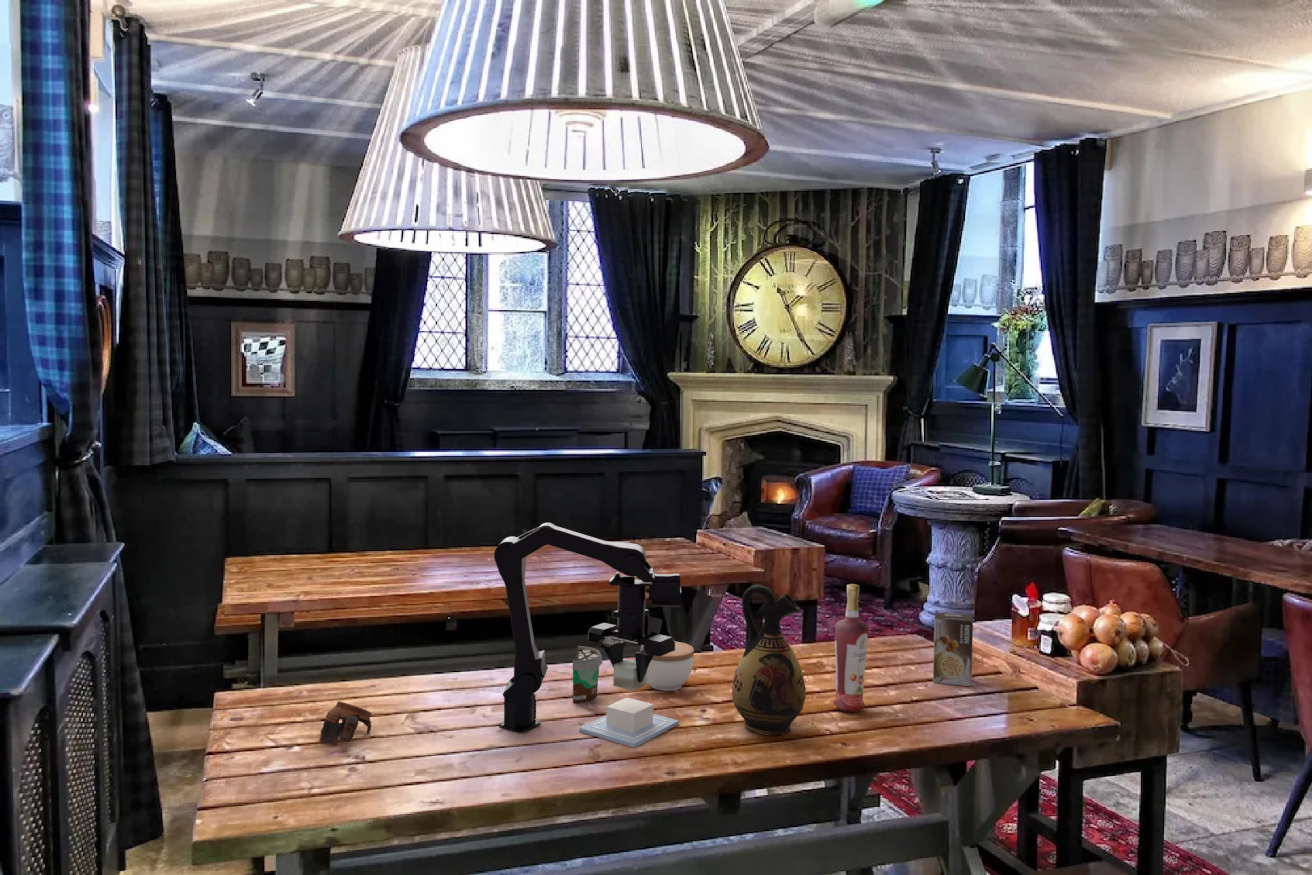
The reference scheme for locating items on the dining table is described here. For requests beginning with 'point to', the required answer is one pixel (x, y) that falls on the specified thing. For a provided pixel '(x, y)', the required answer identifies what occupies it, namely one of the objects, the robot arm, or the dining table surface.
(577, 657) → the food container
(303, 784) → the dining table surface
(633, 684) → the sage block
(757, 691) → the ceramic jug
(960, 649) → the coffee box
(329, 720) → the brown bent piece
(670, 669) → the lidded bowl
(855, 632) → the liquor
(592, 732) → the blueprint board
